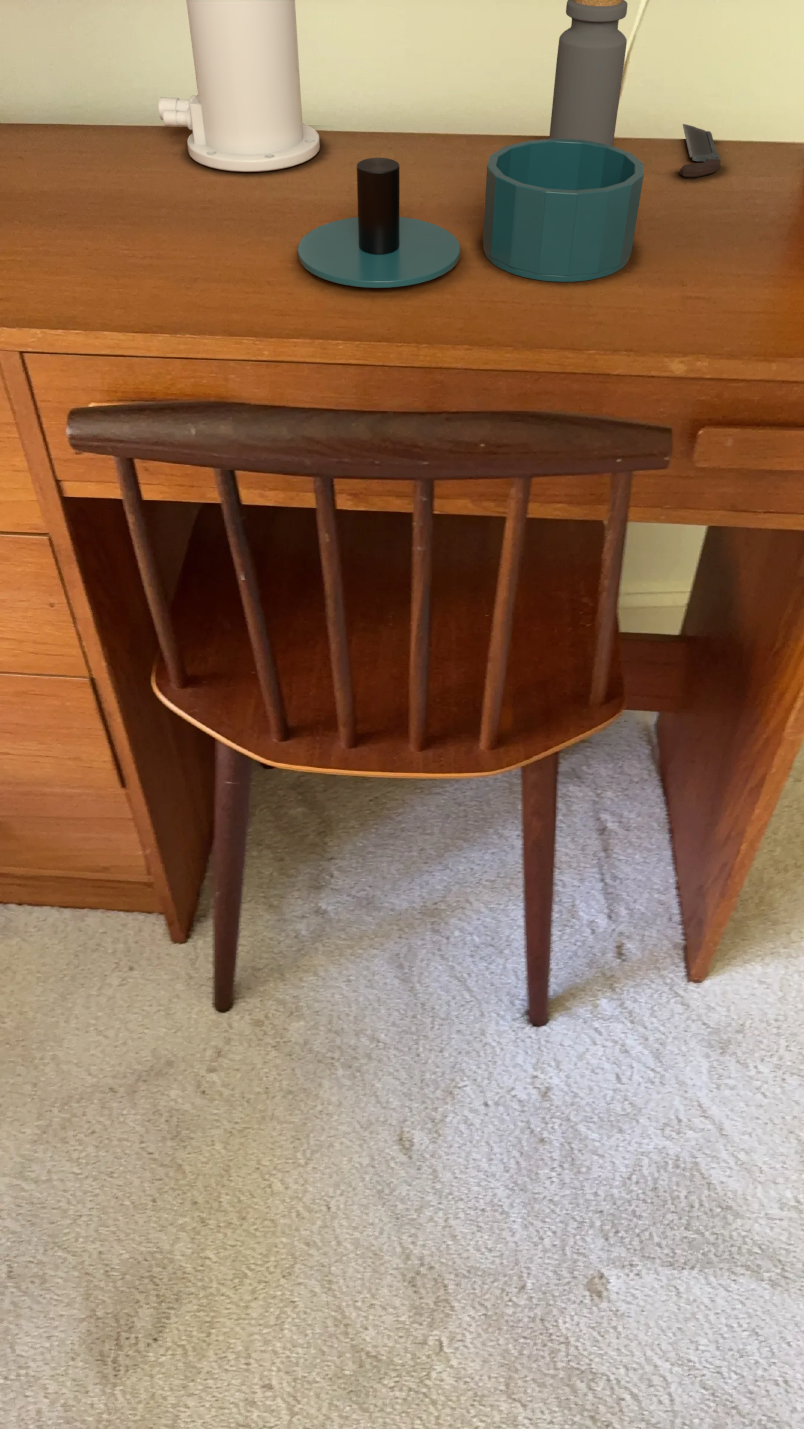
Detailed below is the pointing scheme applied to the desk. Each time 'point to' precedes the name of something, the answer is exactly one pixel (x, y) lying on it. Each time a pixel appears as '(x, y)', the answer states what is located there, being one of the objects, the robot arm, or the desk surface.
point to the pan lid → (378, 238)
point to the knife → (700, 152)
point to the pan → (561, 209)
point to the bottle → (589, 72)
